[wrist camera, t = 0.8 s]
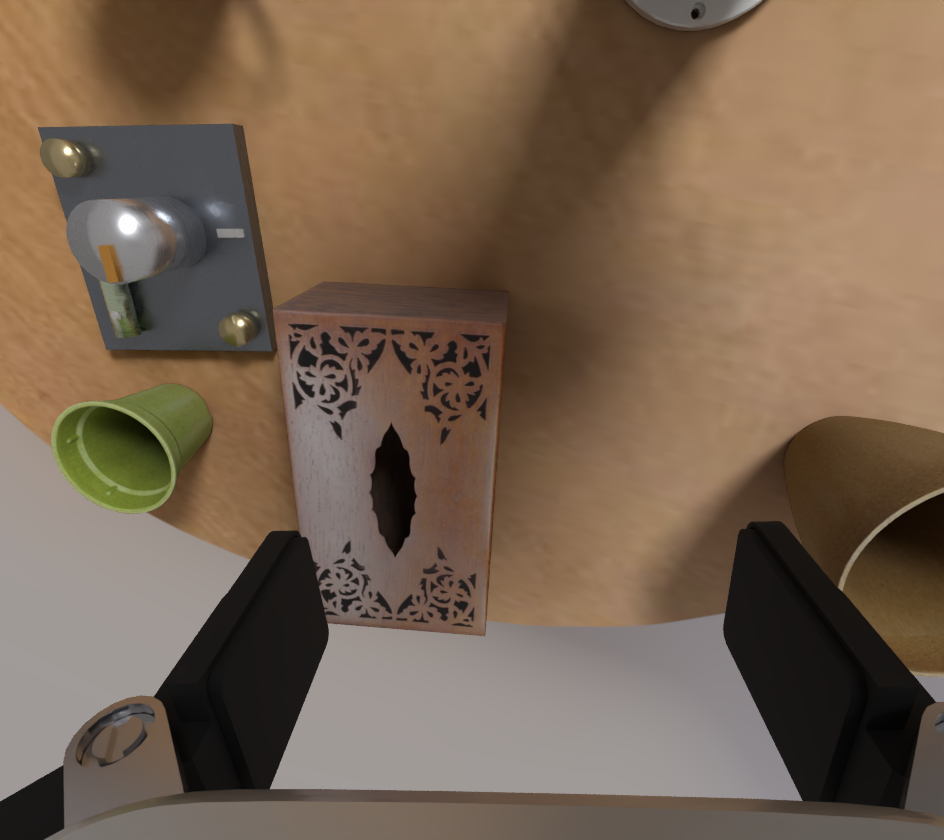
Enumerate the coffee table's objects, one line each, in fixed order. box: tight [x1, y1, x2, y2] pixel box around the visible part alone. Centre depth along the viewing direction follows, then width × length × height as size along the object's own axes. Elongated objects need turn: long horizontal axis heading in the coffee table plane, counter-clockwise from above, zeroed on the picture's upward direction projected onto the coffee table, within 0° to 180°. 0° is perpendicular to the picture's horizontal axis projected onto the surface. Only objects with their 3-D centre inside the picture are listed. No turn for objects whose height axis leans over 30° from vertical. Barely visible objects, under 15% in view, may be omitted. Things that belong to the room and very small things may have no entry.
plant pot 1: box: [51, 384, 213, 514], centre depth 43 cm, size 9×9×9 cm
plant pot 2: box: [784, 416, 944, 677], centre depth 37 cm, size 15×15×16 cm
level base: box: [38, 124, 277, 351], centre depth 39 cm, size 16×14×4 cm
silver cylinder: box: [66, 197, 206, 285], centre depth 35 cm, size 5×5×7 cm
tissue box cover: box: [273, 282, 508, 636], centre depth 42 cm, size 26×14×10 cm, turn 178°
